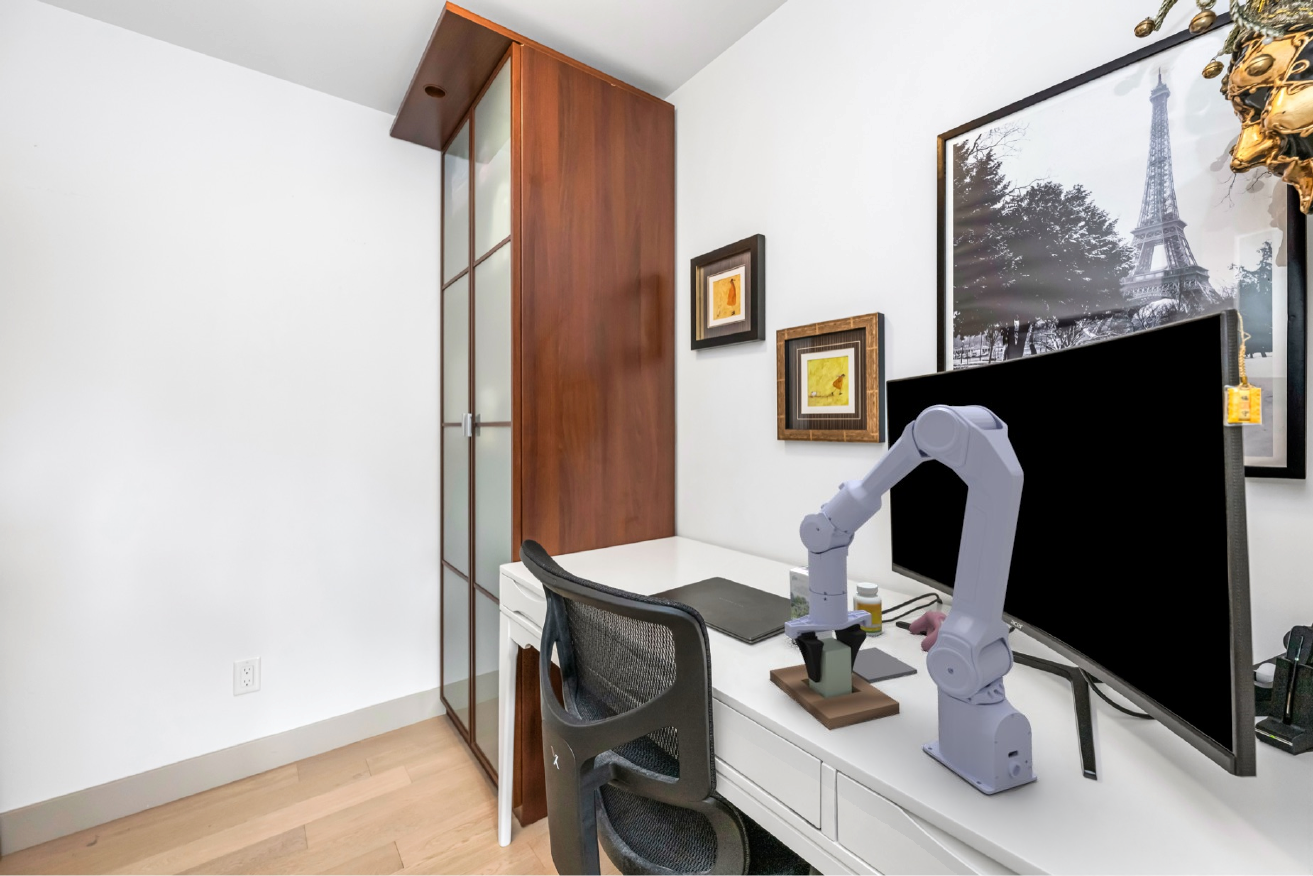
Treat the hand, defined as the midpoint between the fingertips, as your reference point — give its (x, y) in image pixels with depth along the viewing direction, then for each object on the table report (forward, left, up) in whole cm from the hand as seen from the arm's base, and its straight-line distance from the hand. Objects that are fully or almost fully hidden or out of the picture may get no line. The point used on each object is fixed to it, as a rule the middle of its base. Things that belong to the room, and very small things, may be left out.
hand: (829, 676), depth 83 cm
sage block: (0, 0, -3) cm, 3 cm away
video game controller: (+10, -30, -3) cm, 32 cm away
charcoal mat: (+6, -13, -3) cm, 15 cm away
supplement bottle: (+19, -23, -3) cm, 30 cm away
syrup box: (+18, -9, -3) cm, 20 cm away
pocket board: (0, 0, -3) cm, 3 cm away
